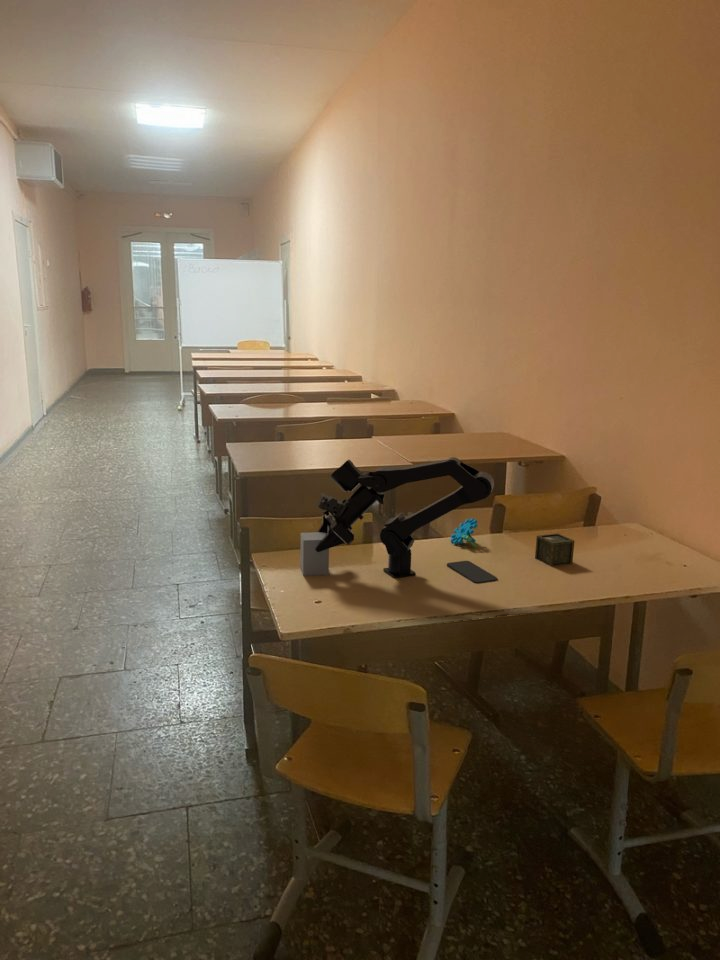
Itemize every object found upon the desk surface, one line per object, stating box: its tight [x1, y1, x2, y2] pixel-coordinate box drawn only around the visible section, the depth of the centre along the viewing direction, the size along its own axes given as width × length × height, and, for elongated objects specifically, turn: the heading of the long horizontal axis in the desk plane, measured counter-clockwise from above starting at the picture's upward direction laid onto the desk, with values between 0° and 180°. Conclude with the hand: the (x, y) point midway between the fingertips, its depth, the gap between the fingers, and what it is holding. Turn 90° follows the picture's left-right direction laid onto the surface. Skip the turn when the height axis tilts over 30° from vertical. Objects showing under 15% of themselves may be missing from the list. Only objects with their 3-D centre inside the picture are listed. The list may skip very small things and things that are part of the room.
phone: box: [446, 560, 498, 584], centre depth 188 cm, size 7×1×15 cm
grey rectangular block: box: [299, 531, 330, 577], centre depth 185 cm, size 7×7×10 cm
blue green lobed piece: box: [450, 517, 478, 548], centre depth 212 cm, size 11×6×10 cm
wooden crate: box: [534, 533, 575, 567], centre depth 198 cm, size 7×7×7 cm
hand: (314, 546), depth 185 cm, fingers closed on grey rectangular block, 7 cm apart
